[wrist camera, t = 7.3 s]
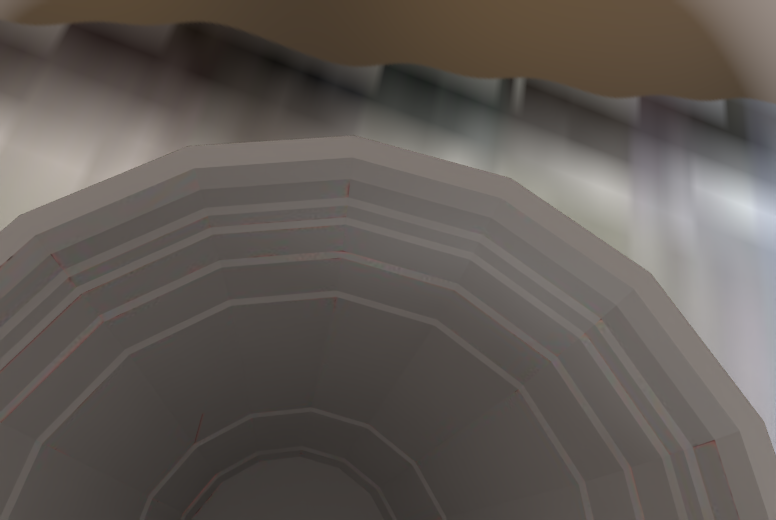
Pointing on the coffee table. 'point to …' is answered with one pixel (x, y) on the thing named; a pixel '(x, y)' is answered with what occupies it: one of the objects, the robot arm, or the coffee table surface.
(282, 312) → the plastic cup
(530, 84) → the coffee table surface
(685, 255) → the coffee table surface
